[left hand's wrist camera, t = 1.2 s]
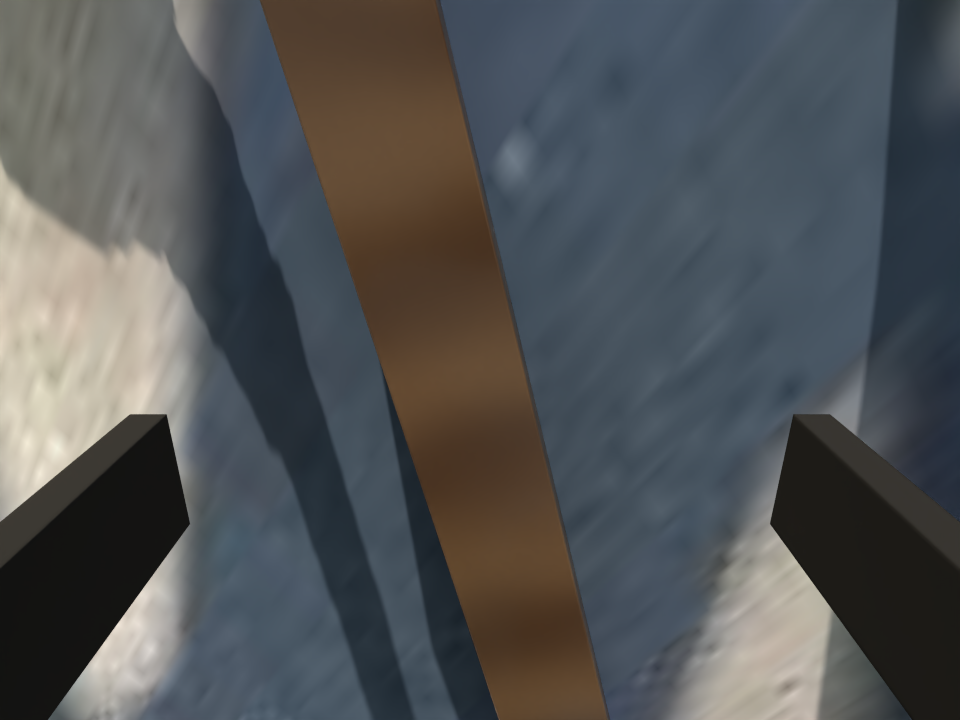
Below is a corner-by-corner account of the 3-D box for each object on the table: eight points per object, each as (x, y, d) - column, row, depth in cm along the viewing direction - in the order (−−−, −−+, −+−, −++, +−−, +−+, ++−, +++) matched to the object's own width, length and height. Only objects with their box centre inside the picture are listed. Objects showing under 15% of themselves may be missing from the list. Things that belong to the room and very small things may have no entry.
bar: (313, -7, 25) (236, -68, 17) (430, -41, 24) (407, -120, 16) (564, 825, 44) (583, 976, 36) (632, 814, 44) (666, 964, 36)
